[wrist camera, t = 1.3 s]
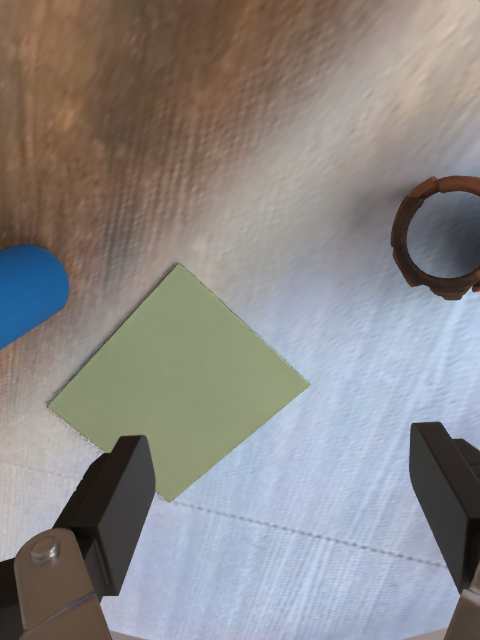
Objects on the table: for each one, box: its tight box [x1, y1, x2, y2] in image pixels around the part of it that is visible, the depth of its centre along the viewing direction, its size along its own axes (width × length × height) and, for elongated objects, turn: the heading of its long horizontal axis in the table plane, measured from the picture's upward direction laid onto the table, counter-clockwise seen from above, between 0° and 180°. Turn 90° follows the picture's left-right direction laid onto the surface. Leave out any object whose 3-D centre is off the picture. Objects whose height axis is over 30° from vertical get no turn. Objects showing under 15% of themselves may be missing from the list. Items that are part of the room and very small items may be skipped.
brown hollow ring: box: [391, 176, 480, 300], centre depth 30 cm, size 12×10×8 cm
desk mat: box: [47, 263, 310, 503], centre depth 40 cm, size 16×20×1 cm
